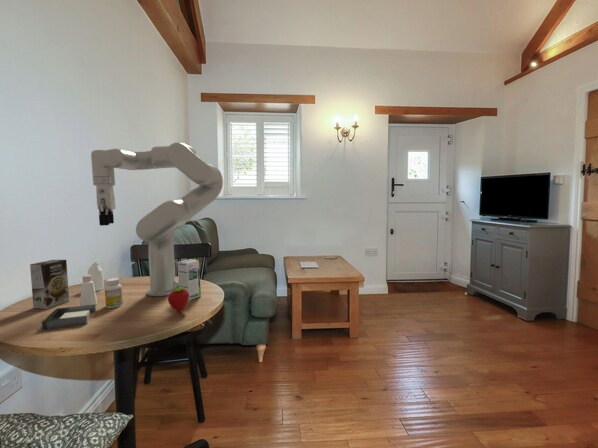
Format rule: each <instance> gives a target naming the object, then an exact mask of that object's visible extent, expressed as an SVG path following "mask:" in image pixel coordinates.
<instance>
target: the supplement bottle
mask: <svg viewBox="0 0 598 448" xmlns="http://www.w3.org/2000/svg"><path fill="white" fill-rule="evenodd" d="M122 286H123V285H122V284H120V278H119V277H115V278H114V277H112V278H108V279H106V286H104V298H105V307H106V308H108V309H113V308H119V307H121V306H123V304H124V298H123V287H122Z"/></svg>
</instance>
